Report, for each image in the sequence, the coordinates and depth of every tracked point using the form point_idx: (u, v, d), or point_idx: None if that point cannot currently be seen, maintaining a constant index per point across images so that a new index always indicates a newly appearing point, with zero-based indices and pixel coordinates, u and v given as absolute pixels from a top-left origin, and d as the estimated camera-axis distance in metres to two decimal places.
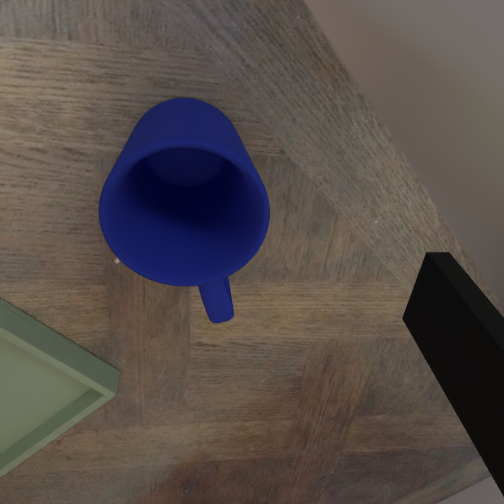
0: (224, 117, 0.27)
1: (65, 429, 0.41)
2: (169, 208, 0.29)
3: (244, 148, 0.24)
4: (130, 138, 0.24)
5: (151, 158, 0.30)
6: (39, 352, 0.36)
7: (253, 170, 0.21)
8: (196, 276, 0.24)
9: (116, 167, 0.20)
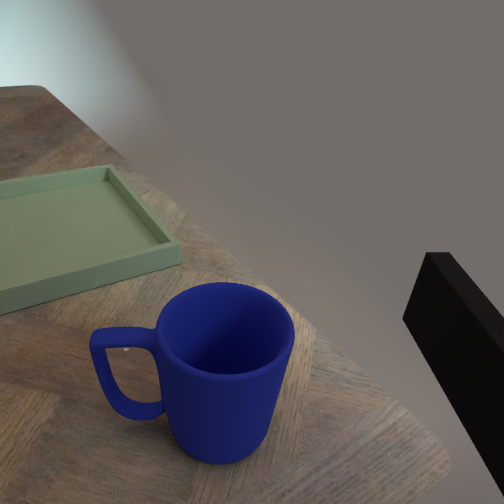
0: (255, 440, 0.29)
1: None
2: None
3: (249, 414, 0.27)
4: None
5: None
6: (81, 267, 0.42)
7: (260, 373, 0.24)
8: (165, 322, 0.27)
9: (277, 301, 0.29)
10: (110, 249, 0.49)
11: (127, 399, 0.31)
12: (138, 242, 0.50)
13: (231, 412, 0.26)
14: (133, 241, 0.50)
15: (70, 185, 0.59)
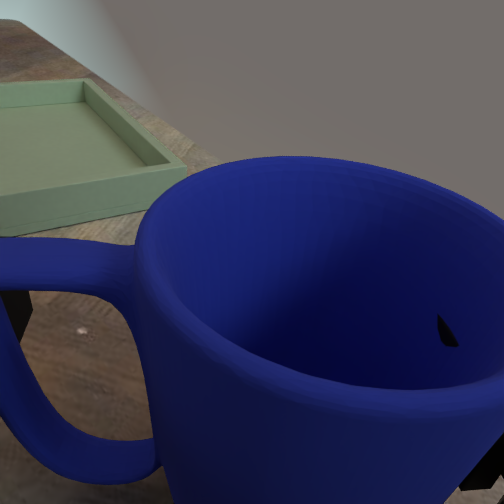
0: None
1: None
2: None
3: None
4: None
5: None
6: (14, 191, 0.24)
7: None
8: (166, 226, 0.09)
9: None
10: (74, 177, 0.31)
11: (73, 433, 0.13)
12: (120, 170, 0.32)
13: None
14: (112, 169, 0.32)
15: (29, 103, 0.41)
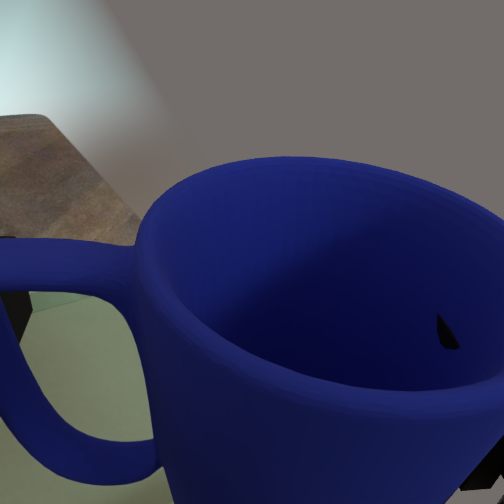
0: None
1: None
2: None
3: None
4: None
5: None
6: None
7: None
8: (166, 227, 0.09)
9: None
10: None
11: (73, 433, 0.13)
12: None
13: None
14: None
15: (79, 298, 0.38)
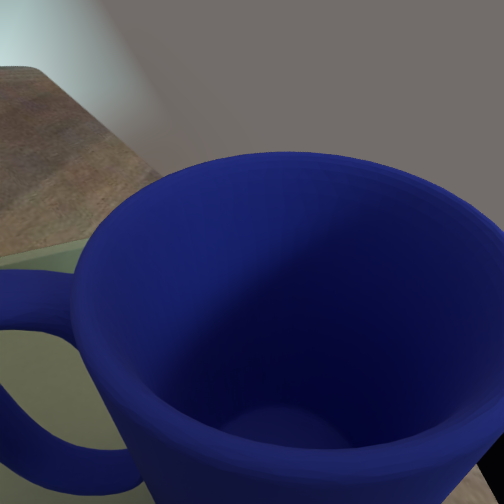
0: None
1: None
2: (203, 378, 0.14)
3: None
4: None
5: (275, 414, 0.16)
6: None
7: (476, 443, 0.06)
8: (112, 251, 0.09)
9: None
10: None
11: (61, 447, 0.13)
12: None
13: None
14: None
15: None
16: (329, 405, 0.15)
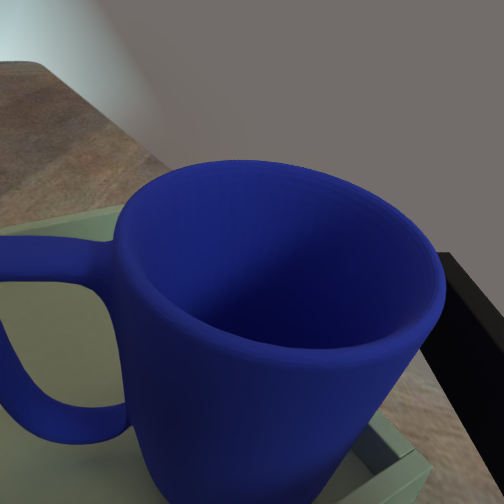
0: (323, 487, 0.14)
1: None
2: None
3: (338, 443, 0.11)
4: None
5: None
6: None
7: (402, 347, 0.09)
8: (137, 225, 0.11)
9: None
10: None
11: (51, 402, 0.15)
12: None
13: (304, 443, 0.10)
14: None
15: None
16: None
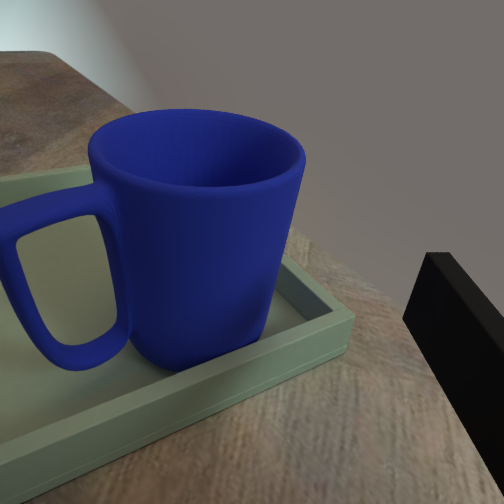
0: None
1: None
2: None
3: (280, 252, 0.18)
4: None
5: None
6: (162, 391, 0.18)
7: (300, 169, 0.17)
8: None
9: None
10: None
11: (64, 344, 0.18)
12: None
13: (268, 252, 0.17)
14: None
15: None
16: None
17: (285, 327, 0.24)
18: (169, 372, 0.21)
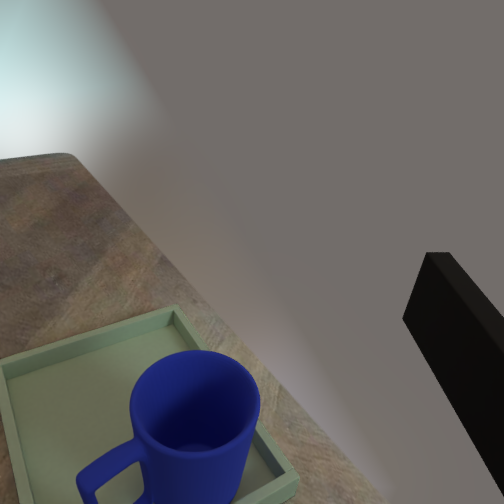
0: None
1: None
2: None
3: (245, 457, 0.30)
4: None
5: None
6: None
7: (255, 422, 0.28)
8: (142, 426, 0.27)
9: (215, 352, 0.32)
10: None
11: None
12: None
13: (236, 465, 0.29)
14: None
15: (127, 337, 0.46)
16: (196, 436, 0.36)
17: (254, 476, 0.35)
18: None
